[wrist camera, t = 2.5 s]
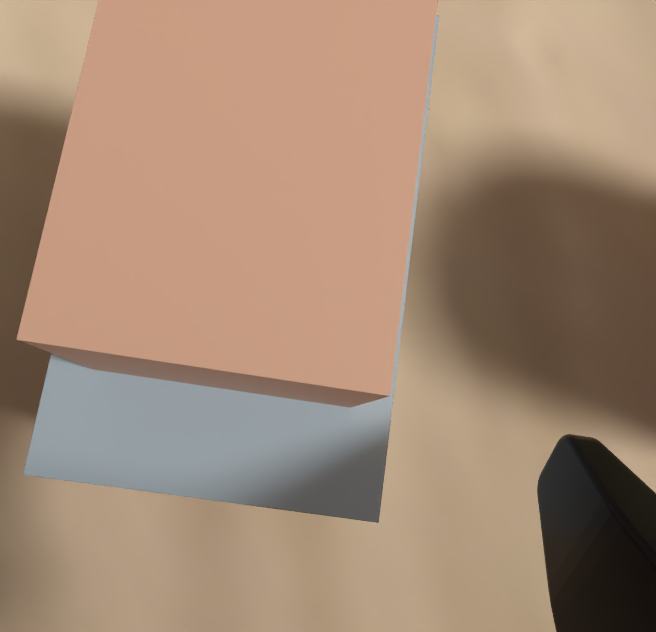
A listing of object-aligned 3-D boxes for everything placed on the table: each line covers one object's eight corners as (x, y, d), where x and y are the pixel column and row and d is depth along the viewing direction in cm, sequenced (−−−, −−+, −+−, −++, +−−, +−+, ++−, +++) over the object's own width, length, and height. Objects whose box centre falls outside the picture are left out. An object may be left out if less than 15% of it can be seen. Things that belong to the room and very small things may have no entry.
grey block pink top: (329, 497, 18) (469, 625, 6) (127, 470, 17) (-159, 548, 5) (370, 197, 19) (539, -165, 8) (188, 166, 19) (72, -270, 7)
